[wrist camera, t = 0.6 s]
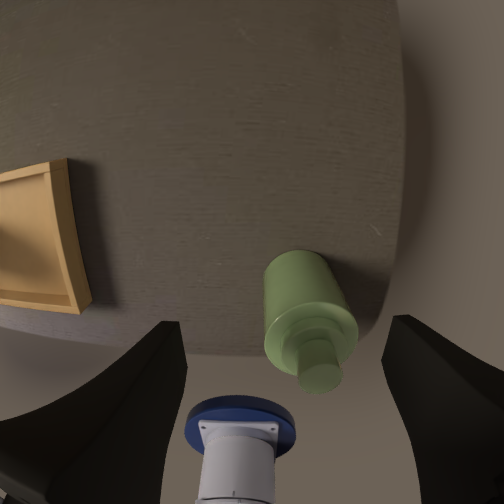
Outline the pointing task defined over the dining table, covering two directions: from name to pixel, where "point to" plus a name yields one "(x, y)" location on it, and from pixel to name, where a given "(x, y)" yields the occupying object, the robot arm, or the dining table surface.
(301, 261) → the sage bottle
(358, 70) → the dining table surface
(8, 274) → the tray
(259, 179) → the dining table surface
